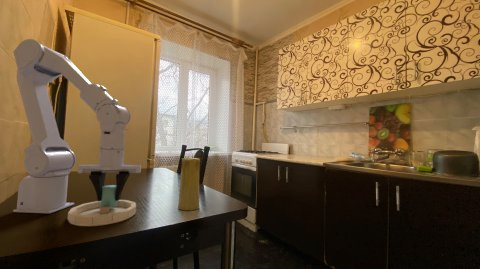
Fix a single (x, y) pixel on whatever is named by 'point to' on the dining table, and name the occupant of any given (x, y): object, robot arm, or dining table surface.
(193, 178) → the vase
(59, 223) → the dining table surface
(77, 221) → the ring tray
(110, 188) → the teal green block
